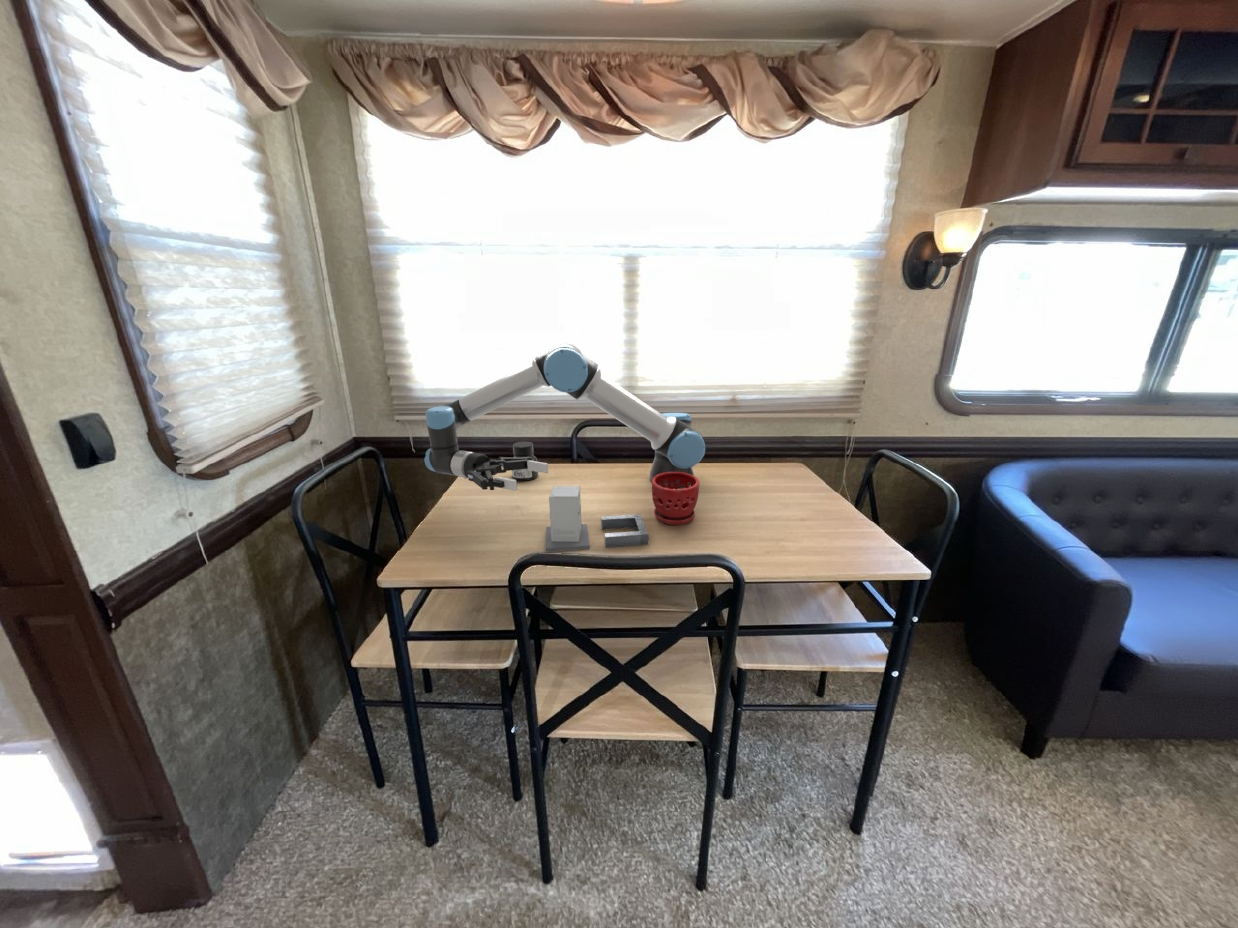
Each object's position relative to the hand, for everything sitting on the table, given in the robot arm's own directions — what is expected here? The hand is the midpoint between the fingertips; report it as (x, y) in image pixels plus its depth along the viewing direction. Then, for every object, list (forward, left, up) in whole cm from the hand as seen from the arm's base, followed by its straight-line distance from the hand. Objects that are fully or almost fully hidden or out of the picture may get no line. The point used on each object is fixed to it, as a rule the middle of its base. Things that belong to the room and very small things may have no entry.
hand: (532, 476), depth 130 cm
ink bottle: (+5, -41, -16) cm, 44 cm away
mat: (-8, +7, -15) cm, 19 cm away
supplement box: (-8, +7, -15) cm, 18 cm away
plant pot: (-39, -1, -16) cm, 42 cm away
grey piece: (-23, +7, -15) cm, 29 cm away
